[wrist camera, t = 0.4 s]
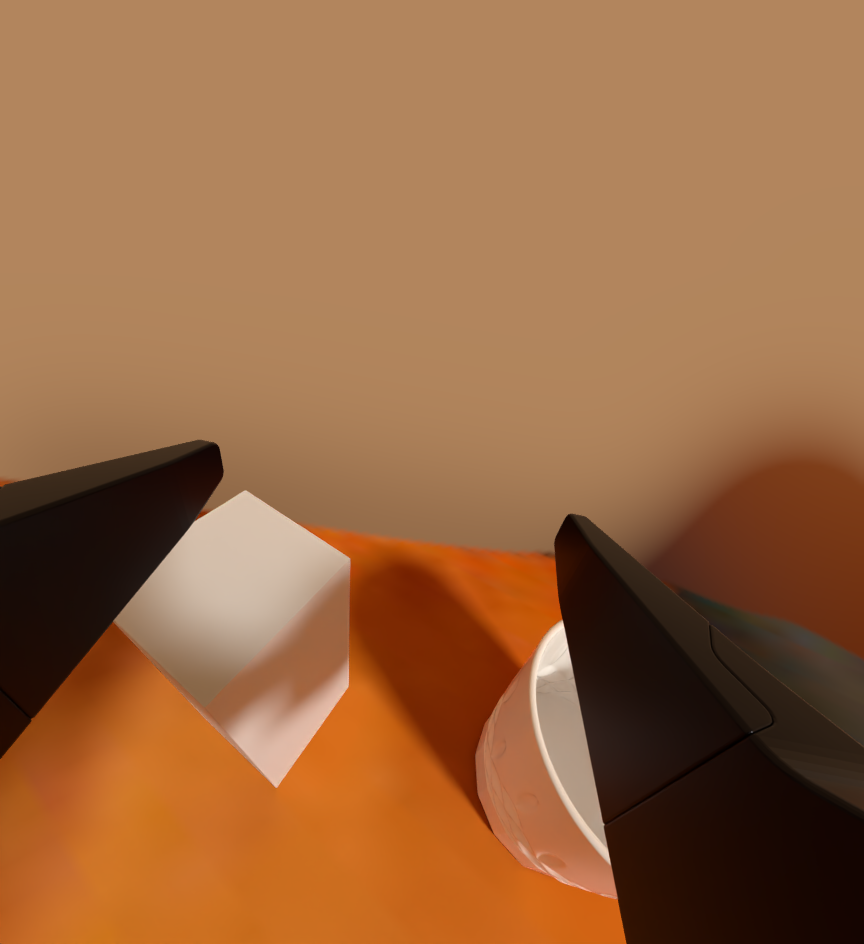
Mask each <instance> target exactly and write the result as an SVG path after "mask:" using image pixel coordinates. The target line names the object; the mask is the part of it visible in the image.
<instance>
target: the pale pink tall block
mask: <svg viewBox="0 0 864 944" xmlns="http://www.w3.org/2000/svg"><path fill="white" fill-rule="evenodd" d="M349 617H350V558H349V557H347V556H346V555H344V554H343V553H341V552H339V551H338V550H336V549H335V548H333V547H332V546H330V545H329V544H327V543H326V542H324V541H323V540H321V539H320V538H318V537H316V536H315V535H313V534H312V533H310V532H309V531H307V530H306V529H304V528H303V527H301V526H300V525H298V524H297V523H295V522H294V521H292V520H290V519H289V518H287V517H286V516H284V515H283V514H281V513H280V512H278V511H277V510H275V509H274V508H272V507H271V506H269V505H267V504H266V503H264V502H263V501H261V500H260V499H258V498H257V497H255V496H254V495H252V494H251V493H249V492H248V491H246V490H245V491H243V492H242V493H240V494H238V495H237V496H235V497H234V498H232V499H230V500H229V501H227V502H225V503H224V504H222V505H221V506H219V507H217V508H216V509H214V510H212V511H211V512H209V513H208V514H206V515H204V516H203V517H201V518H199V519H198V520H196V521H195V522H193V524H192V525H191V527H190V528H189V529H188V531H187V532H186V533H185V534H184V536H183V537H182V538H181V539H180V541H179V542H178V543H177V544H176V545H175V547H174V548H173V549H172V550H171V552H170V553H169V554H168V555H167V556H166V558H165V559H164V560H163V561H162V562H161V564H160V565H159V566H158V567H157V569H156V570H155V571H154V572H153V573H152V575H151V576H150V577H149V578H148V580H147V581H146V582H145V583H144V584H143V586H142V587H141V588H140V589H139V590H138V592H137V593H136V594H135V595H134V597H133V598H132V599H131V600H130V601H129V603H128V604H127V605H126V606H125V608H124V609H123V610H122V611H121V612H120V614H119V615H118V616H117V617H116V618H115V620H114V621H113V622H114V623H115V624H116V625H117V627H118V628H119V629H120V630H121V631H122V632H123V633H124V634H125V635H126V636H127V637H128V638H129V639H130V640H131V641H132V642H133V643H134V644H135V645H136V647H137V648H138V649H139V650H140V651H141V652H142V653H143V654H144V655H145V656H146V657H147V658H148V659H149V660H150V661H151V662H152V663H153V664H154V665H155V666H156V668H157V669H158V670H159V671H160V672H161V673H162V674H163V675H164V676H165V677H166V678H167V679H168V680H169V681H170V682H171V683H172V684H173V685H174V686H175V687H176V689H177V690H178V691H179V692H180V693H181V694H182V695H183V696H184V697H185V698H186V699H187V700H188V701H189V702H190V703H191V704H192V705H193V706H194V707H195V708H196V710H197V711H198V712H199V713H200V714H201V715H202V716H203V717H204V718H205V719H206V720H207V721H208V722H209V723H210V724H211V725H212V726H213V727H214V728H215V729H216V730H217V731H218V732H219V733H220V734H221V735H222V736H223V737H224V738H225V739H227V740H228V741H229V742H230V743H231V744H232V745H233V746H234V747H235V748H236V749H237V750H238V751H239V752H240V753H241V754H242V755H243V756H244V757H245V758H246V759H247V760H248V761H249V762H250V763H251V764H252V765H253V766H254V767H255V768H256V769H257V770H258V771H259V772H260V773H261V774H262V775H263V776H264V777H265V778H266V779H267V780H268V781H269V782H271V783H272V784H273V785H274V786H275V787H276V788H277V787H278V785H279V784H280V782H281V781H282V780H283V778H284V777H285V775H286V774H287V773H288V771H289V770H290V768H291V767H292V766H293V764H294V763H295V761H296V760H297V759H298V757H299V756H300V754H301V753H302V751H303V750H304V749H305V747H306V746H307V744H308V743H309V742H310V740H311V739H312V737H313V736H314V735H315V733H316V732H317V730H318V729H319V728H320V726H321V725H322V723H323V722H324V720H325V719H326V718H327V716H328V715H329V713H330V712H331V711H332V709H333V708H334V706H335V705H336V704H337V702H338V701H339V699H340V698H341V697H342V695H343V694H344V692H345V691H346V689H347V688H348V687H349Z"/></svg>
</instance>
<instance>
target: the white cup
mask: <svg viewBox="0 0 864 944" xmlns="http://www.w3.org/2000/svg"><path fill="white" fill-rule="evenodd" d="M475 762H476V777H477V792H478V796H479V799H480V801H481V804H482V806H483V808H484V811H485V813H486V816H487V818H488V821H489V823H490V826H491V828H492V831H493V833H494V835H495V836H496V837H497V838H498V840H499V841H500V842H501V843H502V844H503V845H504V846H505V847H506V848H507V849H508V851H509V852H510V853H511V854H512V855H513V856H514V857H515V858H516V859H517V860H518V862H519V863H520V864H521V865H522V866H524V867H526V868H529V869H532V870H535V871H538V872H540V873H543V874H546V875H549V876H551V877H554V878H555V879H557V880H558V881H560V882H562V883H564V884H567V885H571V886H574V887H577V888H580V889H583V890H587V891H591V892H594V893H597V894H599V895H602V896H605V897H609V898H613V899H618V898H617V893H616V888H615V883H614V878H613V873H612V868H611V863H610V858H609V852H608V847H607V842H606V837H605V832H604V825H605V824H604V823H603V821H602V816H601V811H600V806H599V801H598V795H597V790H596V785H595V780H594V775H593V770H592V765H591V760H590V755H589V750H588V745H587V740H586V735H585V730H584V725H583V720H582V715H581V710H580V705H579V700H578V694H577V689H576V684H575V679H574V674H573V669H572V664H571V659H570V654H569V649H568V644H567V639H566V634H565V629H564V624H563V620H561V621H559V622H558V623H556V624H555V625H554V626H553V627H552V628H551V629H550V630H549V631H548V632H547V633H546V634H545V635H544V637H543V638H542V640H541V641H540V642H539V644H538V645H537V647H536V648H535V650H534V651H533V652H532V654H531V655H530V657H529V658H528V659H527V661H526V662H525V663H524V665H523V666H522V668H521V669H520V670H519V672H518V673H517V674H516V676H515V677H514V679H513V680H512V681H511V683H510V684H509V686H508V687H507V689H506V691H505V692H504V694H503V695H502V697H501V698H500V700H499V701H498V703H497V705H496V707H495V709H494V711H493V713H492V715H491V716H490V717H489V718H488V720H487V721H486V722H485V724H484V727H483V730H482V734H481V737H480V740H479V744H478V747H477V750H476V753H475Z"/></svg>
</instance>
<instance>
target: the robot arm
mask: <svg viewBox="0 0 864 944" xmlns="http://www.w3.org/2000/svg"><path fill="white" fill-rule="evenodd" d="M223 472H224V471H223V465H222V459H221V454H220V449H219V446H218V445H217V444H216V443H214V442H209V441H204V440H196V441H192V442H187V443H183V444H178V445H174V446H170V447H165V448H161V449H157V450H153V451H148V452H144V453H139V454H135V455H131V456H127V457H123V458H118V459H114V460H109V461H105V462H101V463H96V464H92V465H88V466H83V467H79V468H75V469H71V470H66V471H62V472H58V473H53V474H49V475H45V476H40V477H36V478H32V479H27V480H23V481H19V482H14V483H10V484H6V485H4V486H3V487H1V486H0V759H1V758H2V756H3V755H4V754H5V753H6V752H7V750H8V749H9V748H10V747H11V745H12V744H13V743H14V742H15V741H16V739H17V738H18V737H19V736H20V735H21V733H22V732H23V731H24V730H25V728H26V727H27V726H28V725H29V724H30V722H31V721H32V720H31V719H32V718H34V717H35V716H36V715H37V713H38V712H39V711H40V710H41V709H42V707H43V706H44V705H45V704H46V702H47V701H48V700H49V699H50V698H51V696H52V695H53V694H54V693H55V692H56V690H57V689H58V688H59V687H60V685H61V684H62V683H63V682H64V681H65V679H66V678H67V677H68V676H69V674H70V673H71V672H72V671H73V670H74V668H75V667H76V666H77V665H78V664H79V662H80V661H81V660H82V659H83V657H84V656H85V655H86V654H87V653H88V651H89V650H90V649H91V648H92V646H93V645H94V644H95V643H96V642H97V640H98V639H99V638H100V637H101V636H102V634H103V633H104V632H105V631H106V629H107V628H108V627H109V626H110V625H111V623H112V622H113V621H114V620H115V618H116V617H117V616H118V615H119V614H120V612H121V611H122V610H123V609H124V608H125V606H126V605H127V604H128V603H129V601H130V600H131V599H132V598H133V597H134V595H135V594H136V593H137V592H138V590H139V589H140V588H141V587H142V586H143V584H144V583H145V582H146V581H147V580H148V578H149V577H150V576H151V575H152V573H153V572H154V571H155V570H156V569H157V567H158V566H159V565H160V564H161V562H162V561H163V560H164V559H165V558H166V556H167V555H168V554H169V553H170V552H171V550H172V549H173V548H174V547H175V545H176V544H177V543H178V542H179V541H180V539H181V538H182V537H183V536H184V534H185V533H186V532H187V531H188V529H189V528H190V527H191V525H192V524H193V522H194V521H195V520H196V518H197V517H198V515H199V514H200V512H201V510H202V509H203V507H204V506H205V504H206V503H207V501H208V500H209V498H210V497H211V495H212V494H213V492H214V491H215V489H216V487H217V486H218V484H219V483H220V481H221V480H222V477H223ZM554 548H555V561H556V573H557V586H558V596H559V603H560V609H561V614H562V619H563V624H564V629H565V634H566V639H567V644H568V649H569V654H570V659H571V664H572V669H573V674H574V679H575V684H576V689H577V694H578V700H579V705H580V710H581V715H582V720H583V725H584V730H585V735H586V740H587V745H588V750H589V755H590V760H591V765H592V770H593V775H594V780H595V785H596V790H597V795H598V801H599V806H600V811H601V816H602V821H603V823H604V824H605V825H604V832H605V837H606V842H607V847H608V852H609V858H610V863H611V868H612V873H613V878H614V883H615V888H616V893H617V898H618V903H619V908H620V913H621V918H622V923H623V928H624V933H625V938H626V943H627V944H864V746H862V745H861V744H860V743H858V742H857V741H856V740H855V739H853V738H852V737H851V736H849V735H848V734H847V733H846V732H844V731H843V730H842V729H841V728H839V727H838V726H837V725H835V724H834V723H833V722H832V721H830V720H829V719H828V718H826V717H825V716H824V715H823V714H821V713H820V712H819V711H817V710H816V709H815V708H814V707H812V706H811V705H810V704H808V703H807V702H806V701H805V700H803V699H802V698H801V697H800V696H798V695H797V694H796V693H794V692H793V691H792V690H791V689H789V688H788V687H787V686H786V685H784V684H783V683H782V682H781V681H779V680H778V679H777V678H775V677H774V676H773V675H772V674H770V673H769V672H768V671H767V670H765V669H764V668H763V667H762V666H760V665H759V664H758V663H757V662H755V661H754V660H753V659H752V658H751V657H749V656H748V655H747V654H746V653H745V652H743V651H742V650H741V649H740V648H739V647H737V646H736V645H735V644H734V643H733V642H732V641H730V640H729V639H728V638H727V637H726V636H724V635H723V634H722V633H721V632H720V631H719V630H718V629H716V628H715V627H714V626H713V625H709V622H708V621H707V620H706V619H705V618H703V617H702V616H701V615H700V614H699V613H698V612H696V611H695V610H694V609H693V608H692V607H691V606H689V605H688V604H687V603H686V602H685V601H684V600H682V599H681V598H680V597H679V596H678V595H677V594H675V593H674V592H673V591H672V590H671V589H670V588H668V587H667V586H666V585H665V584H664V583H663V582H661V581H660V580H659V579H658V578H657V577H656V576H654V575H653V574H652V573H651V572H650V571H648V570H647V569H646V568H645V567H644V566H643V565H641V564H640V563H639V562H638V561H637V560H636V559H634V558H633V557H632V556H631V555H630V554H629V553H627V552H626V551H625V550H624V549H623V548H621V547H620V546H619V545H618V544H617V543H616V542H614V541H613V540H612V539H611V538H610V537H609V536H608V535H606V534H605V533H604V532H603V531H602V530H601V529H599V528H598V527H597V526H596V525H595V524H593V523H592V522H591V521H590V520H589V519H588V518H587V517H585V516H581V515H576V514H568V515H567V516H566V518H565V520H564V521H563V524H562V525H561V527H560V529H559V531H558V533H557V535H556V538H555V542H554Z"/></svg>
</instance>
